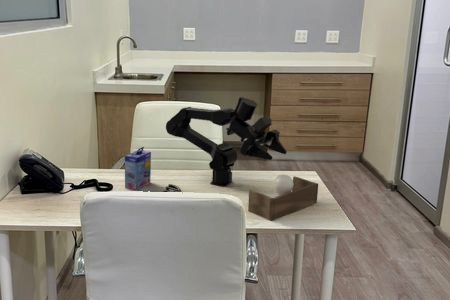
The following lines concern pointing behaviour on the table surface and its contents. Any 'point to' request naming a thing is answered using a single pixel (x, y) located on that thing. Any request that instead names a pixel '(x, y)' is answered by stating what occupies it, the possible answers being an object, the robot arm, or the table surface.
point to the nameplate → (172, 188)
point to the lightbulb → (283, 184)
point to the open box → (284, 200)
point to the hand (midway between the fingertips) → (279, 155)
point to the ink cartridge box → (137, 169)
